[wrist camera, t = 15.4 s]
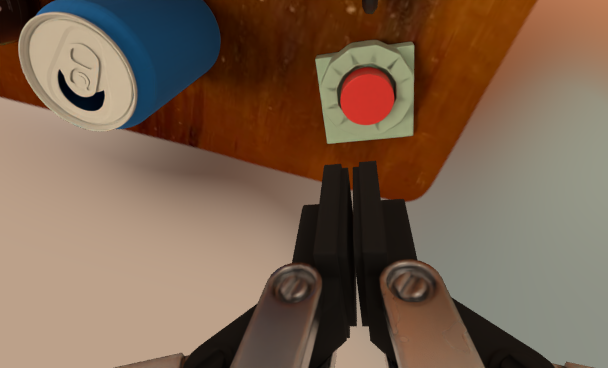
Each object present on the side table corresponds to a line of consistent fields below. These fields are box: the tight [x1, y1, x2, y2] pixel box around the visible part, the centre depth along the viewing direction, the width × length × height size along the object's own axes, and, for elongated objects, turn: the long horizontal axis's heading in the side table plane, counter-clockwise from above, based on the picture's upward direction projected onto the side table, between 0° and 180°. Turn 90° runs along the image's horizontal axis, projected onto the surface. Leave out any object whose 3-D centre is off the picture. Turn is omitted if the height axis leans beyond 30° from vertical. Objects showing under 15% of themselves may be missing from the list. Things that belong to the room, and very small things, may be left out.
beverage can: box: [18, 0, 221, 132], centre depth 21 cm, size 6×6×12 cm
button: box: [340, 67, 394, 125], centre depth 23 cm, size 4×4×2 cm
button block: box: [315, 40, 414, 144], centre depth 25 cm, size 8×7×3 cm
